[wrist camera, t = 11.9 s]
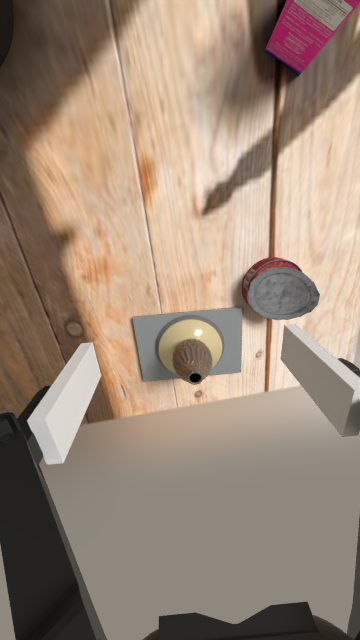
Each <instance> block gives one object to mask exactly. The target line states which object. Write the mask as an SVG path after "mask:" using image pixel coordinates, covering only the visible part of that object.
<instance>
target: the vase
mask: <svg viewBox="0 0 360 640" xmlns="http://www.w3.org/2000/svg"><path fill="white" fill-rule="evenodd" d="M172 362H173V367H174V370H175V372H176V374H177V375H178V376H179V377H180V378H181V379H182V380H184V381H186V382H189V383H191V384H194V385H195V384H199V383H200V382H201V381H202V380H203V379H205V378H206V377H207V376H208V375H209V373H210V371H211V368H212V355H211V352H210V350H209V348H208V347H207V346H206V345H205V344H204V343H203V342H202V341H200V340H197V339H186V340H184V341H182V342H181V343H179V344H178V345H177V347H176V348H175V350H174V353H173V358H172Z"/></svg>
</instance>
